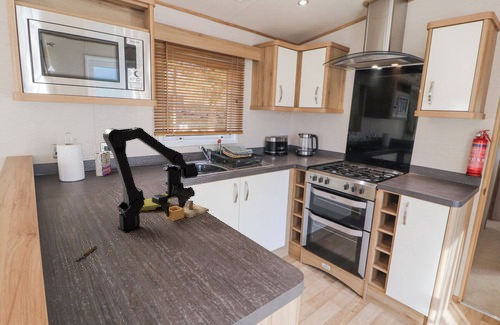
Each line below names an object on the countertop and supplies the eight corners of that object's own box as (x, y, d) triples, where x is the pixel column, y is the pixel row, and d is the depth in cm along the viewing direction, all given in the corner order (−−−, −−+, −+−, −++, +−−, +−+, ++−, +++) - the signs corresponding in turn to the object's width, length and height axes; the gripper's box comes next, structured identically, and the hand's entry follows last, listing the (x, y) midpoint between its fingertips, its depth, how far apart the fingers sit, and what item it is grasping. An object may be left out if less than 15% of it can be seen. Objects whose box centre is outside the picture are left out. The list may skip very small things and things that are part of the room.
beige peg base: (189, 217, 118) (189, 207, 117) (172, 211, 125) (172, 201, 124) (208, 211, 127) (209, 201, 127) (192, 205, 135) (192, 195, 134)
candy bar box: (104, 173, 195) (103, 150, 192) (111, 173, 195) (110, 151, 192) (95, 176, 184) (94, 153, 181) (102, 176, 184) (101, 153, 181)
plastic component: (127, 208, 120) (129, 193, 128) (130, 219, 125) (131, 204, 132) (172, 203, 126) (172, 188, 133) (174, 213, 130) (173, 199, 138)
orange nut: (172, 221, 114) (172, 212, 113) (164, 217, 117) (164, 208, 117) (184, 217, 118) (184, 208, 118) (176, 213, 122) (175, 205, 121)
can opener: (94, 248, 89) (94, 245, 89) (100, 249, 89) (100, 246, 89) (71, 263, 80) (71, 259, 80) (78, 264, 80) (77, 260, 80)
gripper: (166, 187, 103) (167, 225, 106) (203, 180, 117) (202, 213, 120) (150, 182, 110) (151, 218, 112) (186, 175, 124) (186, 207, 127)
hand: (174, 214), depth 118 cm, fingers open, 7 cm apart
